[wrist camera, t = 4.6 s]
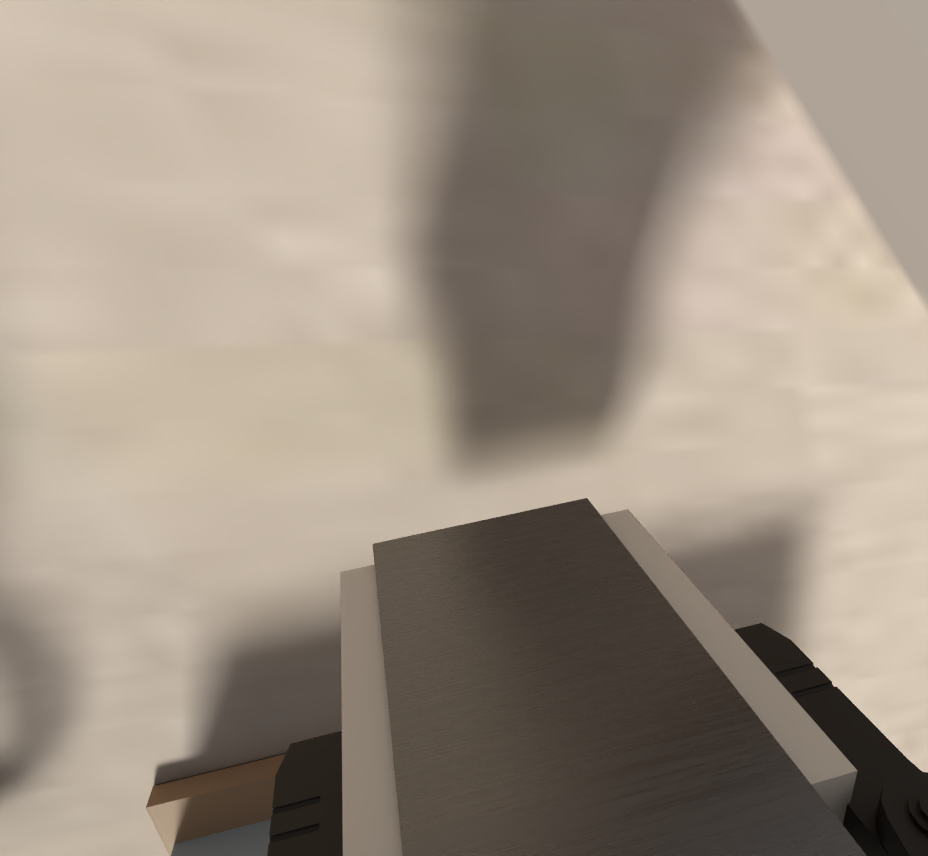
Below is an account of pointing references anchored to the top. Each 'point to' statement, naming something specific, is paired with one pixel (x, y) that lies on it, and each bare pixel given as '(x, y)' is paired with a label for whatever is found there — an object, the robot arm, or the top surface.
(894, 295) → the top surface
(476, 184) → the top surface
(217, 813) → the box
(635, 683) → the brushed grey block
